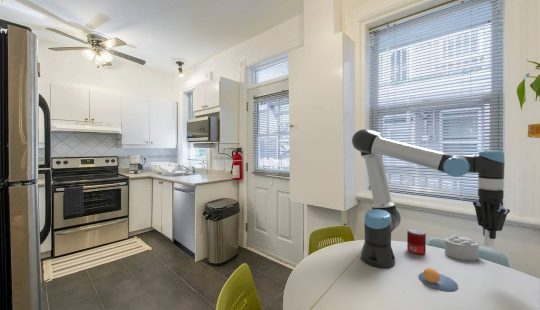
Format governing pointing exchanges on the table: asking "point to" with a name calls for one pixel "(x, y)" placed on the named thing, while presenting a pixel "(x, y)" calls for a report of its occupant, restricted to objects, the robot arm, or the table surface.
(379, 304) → the table surface
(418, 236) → the canned food
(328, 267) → the table surface
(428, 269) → the ball
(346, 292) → the table surface
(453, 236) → the lumpy-topped squat cylinder
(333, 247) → the table surface
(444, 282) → the disc
